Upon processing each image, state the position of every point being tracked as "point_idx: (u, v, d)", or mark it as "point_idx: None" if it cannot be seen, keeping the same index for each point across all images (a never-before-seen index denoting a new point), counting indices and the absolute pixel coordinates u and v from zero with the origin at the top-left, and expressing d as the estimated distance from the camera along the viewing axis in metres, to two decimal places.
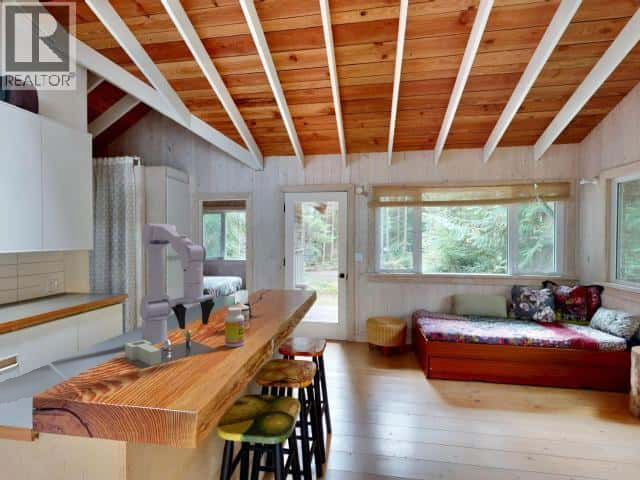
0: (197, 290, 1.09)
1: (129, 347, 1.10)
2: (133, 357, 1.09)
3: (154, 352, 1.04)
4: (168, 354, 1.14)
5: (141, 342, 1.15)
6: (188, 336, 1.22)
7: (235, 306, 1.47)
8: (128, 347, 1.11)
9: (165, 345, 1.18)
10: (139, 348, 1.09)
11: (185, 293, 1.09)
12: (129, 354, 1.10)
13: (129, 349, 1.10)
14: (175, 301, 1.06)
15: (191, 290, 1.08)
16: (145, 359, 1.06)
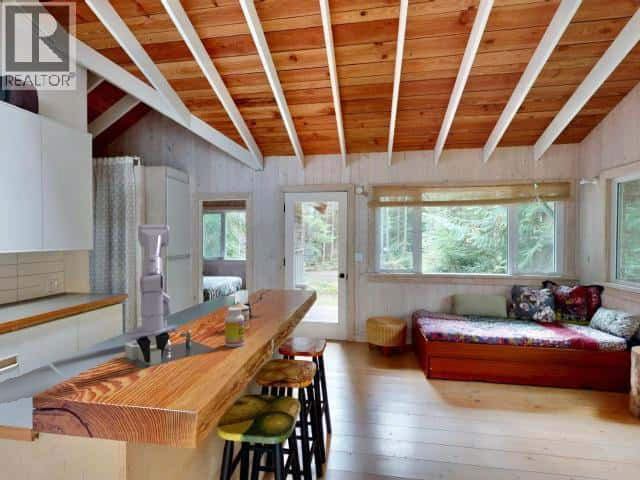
0: (156, 322, 1.04)
1: (129, 347, 1.10)
2: (133, 357, 1.09)
3: (154, 352, 1.04)
4: (168, 354, 1.14)
5: None
6: (188, 336, 1.22)
7: (235, 306, 1.47)
8: (128, 347, 1.11)
9: None
10: (139, 348, 1.09)
11: (143, 326, 1.03)
12: (129, 354, 1.10)
13: (129, 349, 1.10)
14: (131, 335, 1.00)
15: (150, 323, 1.03)
16: None
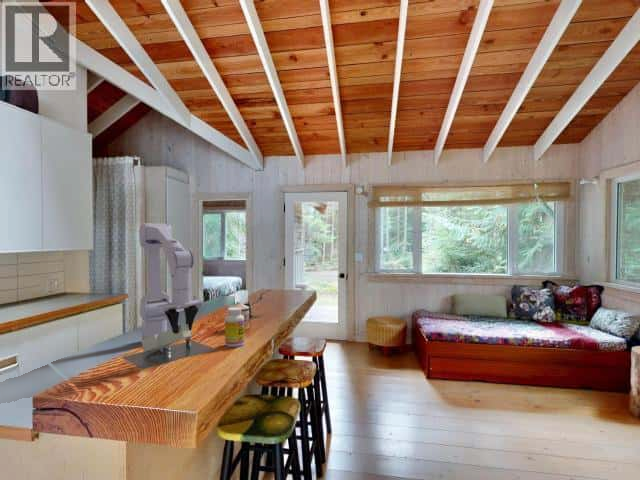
0: (185, 295, 1.10)
1: (149, 338, 1.13)
2: (157, 344, 1.12)
3: (183, 325, 1.12)
4: (168, 354, 1.14)
5: None
6: None
7: (235, 306, 1.47)
8: (148, 339, 1.14)
9: None
10: (162, 334, 1.13)
11: (173, 299, 1.10)
12: (150, 345, 1.13)
13: (150, 340, 1.13)
14: (163, 307, 1.07)
15: (179, 296, 1.10)
16: (173, 337, 1.11)
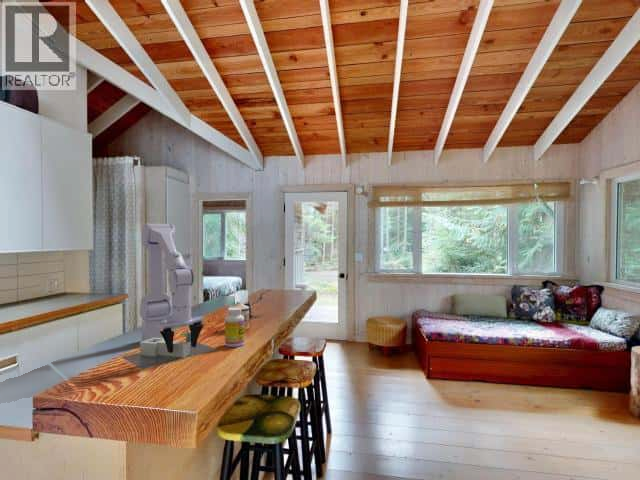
0: (185, 313, 1.10)
1: (148, 344, 1.13)
2: (155, 353, 1.12)
3: (185, 344, 1.11)
4: None
5: (153, 340, 1.18)
6: (188, 336, 1.22)
7: (235, 306, 1.47)
8: (146, 345, 1.13)
9: None
10: (162, 344, 1.13)
11: (173, 317, 1.10)
12: (148, 351, 1.13)
13: (148, 346, 1.13)
14: (163, 325, 1.07)
15: (179, 314, 1.10)
16: None
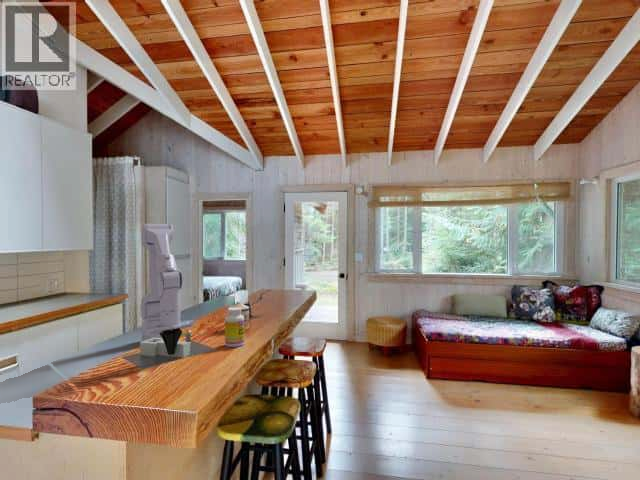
0: (174, 317, 1.08)
1: (148, 344, 1.13)
2: (155, 353, 1.12)
3: (185, 344, 1.11)
4: None
5: (153, 340, 1.18)
6: (188, 336, 1.22)
7: (235, 306, 1.47)
8: (146, 345, 1.13)
9: None
10: (162, 344, 1.13)
11: (162, 321, 1.07)
12: (148, 351, 1.13)
13: (148, 346, 1.13)
14: (151, 330, 1.04)
15: (168, 318, 1.07)
16: None
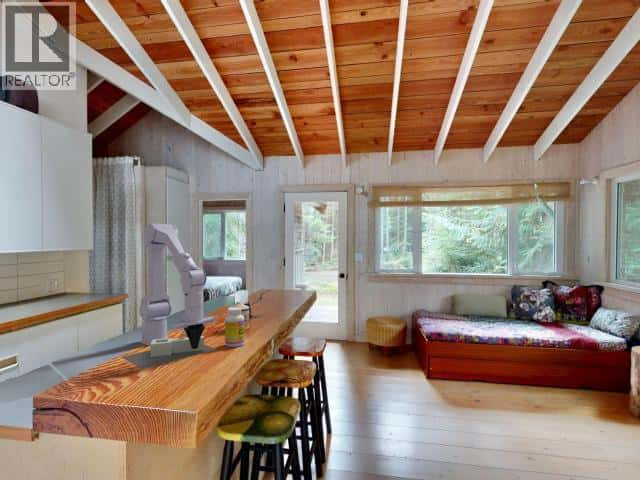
0: (198, 313, 1.13)
1: (163, 344, 1.13)
2: (171, 352, 1.14)
3: (203, 338, 1.19)
4: None
5: (156, 341, 1.16)
6: None
7: (235, 306, 1.47)
8: (160, 345, 1.12)
9: None
10: (176, 341, 1.15)
11: (186, 316, 1.13)
12: (163, 351, 1.13)
13: (163, 346, 1.13)
14: (176, 325, 1.10)
15: (192, 314, 1.13)
16: (190, 347, 1.17)
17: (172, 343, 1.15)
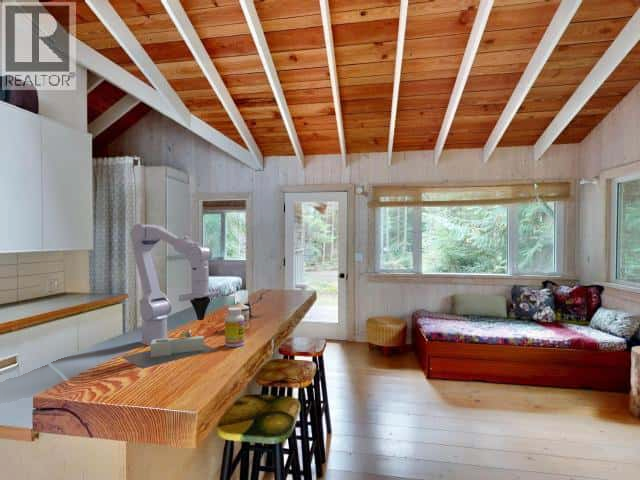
0: (203, 286, 1.21)
1: (163, 344, 1.13)
2: (171, 352, 1.14)
3: (203, 338, 1.19)
4: None
5: (156, 341, 1.16)
6: (188, 336, 1.22)
7: (235, 306, 1.47)
8: (160, 345, 1.12)
9: None
10: (176, 341, 1.15)
11: (193, 289, 1.21)
12: (163, 351, 1.13)
13: (163, 346, 1.13)
14: (184, 296, 1.17)
15: (198, 287, 1.20)
16: (190, 347, 1.17)
17: (172, 343, 1.15)
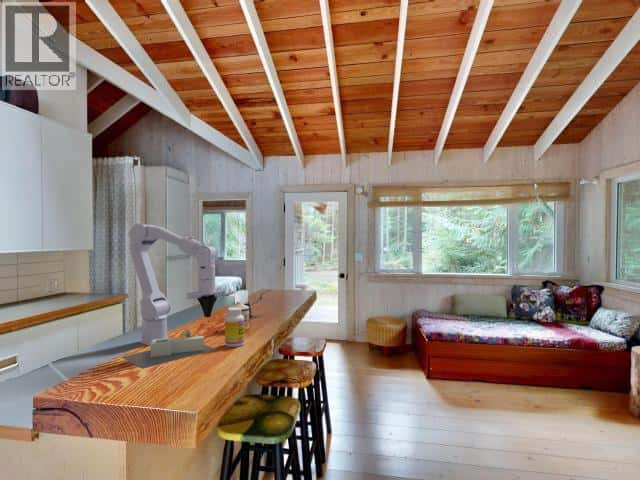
0: (210, 285, 1.25)
1: (163, 344, 1.13)
2: (171, 352, 1.14)
3: (203, 338, 1.19)
4: None
5: (156, 341, 1.16)
6: (188, 336, 1.22)
7: (235, 306, 1.47)
8: (160, 345, 1.12)
9: None
10: (176, 341, 1.15)
11: (200, 287, 1.24)
12: (163, 351, 1.13)
13: (163, 346, 1.13)
14: (192, 294, 1.21)
15: (205, 285, 1.24)
16: (190, 347, 1.17)
17: (172, 343, 1.15)
